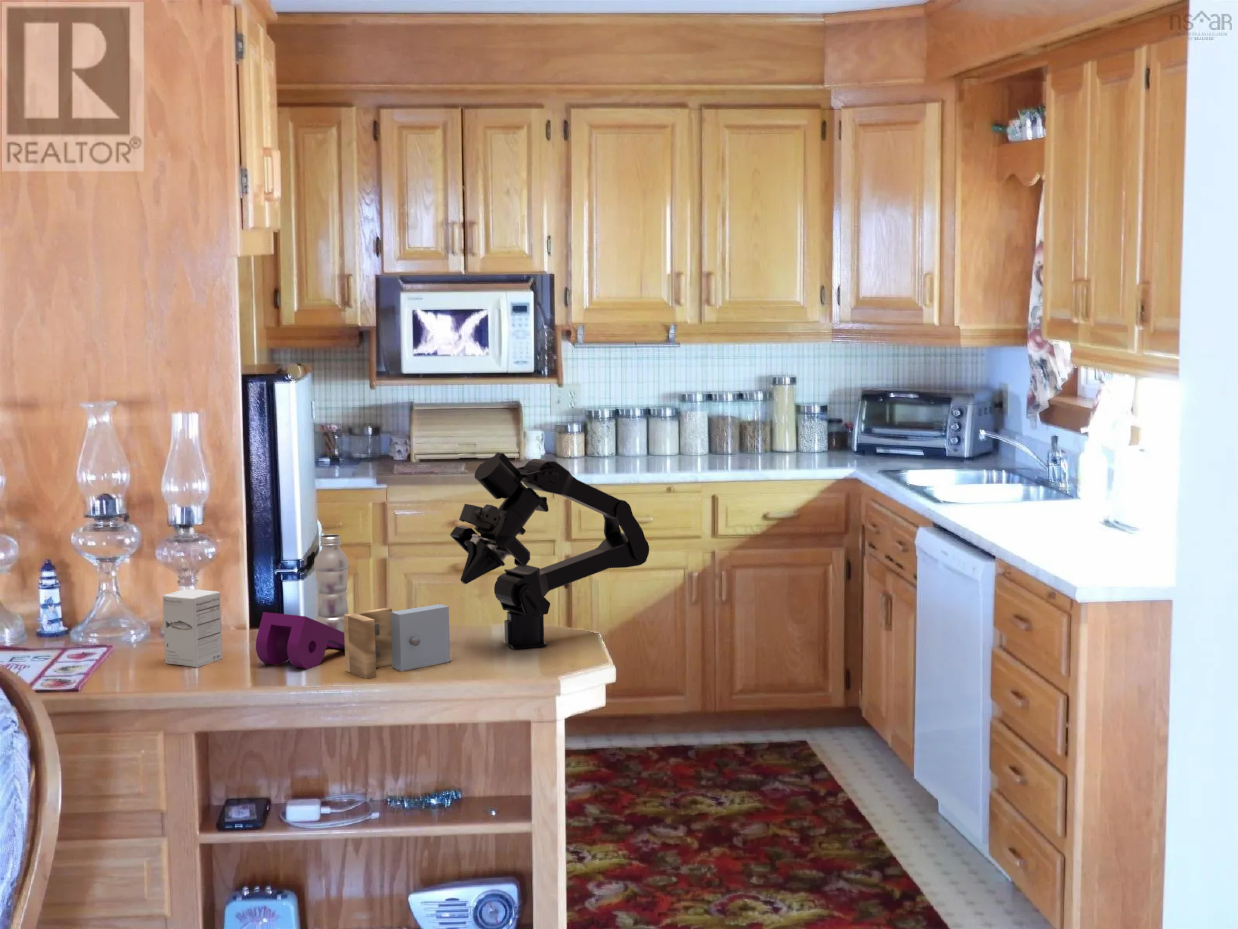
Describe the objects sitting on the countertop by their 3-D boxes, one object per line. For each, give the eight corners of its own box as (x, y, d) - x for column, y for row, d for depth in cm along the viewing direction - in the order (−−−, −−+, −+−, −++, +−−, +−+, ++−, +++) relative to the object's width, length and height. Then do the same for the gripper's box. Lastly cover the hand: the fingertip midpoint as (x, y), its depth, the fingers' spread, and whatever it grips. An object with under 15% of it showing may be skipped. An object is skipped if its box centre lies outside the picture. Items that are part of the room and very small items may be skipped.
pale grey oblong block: (439, 658, 266) (438, 603, 265) (453, 663, 263) (452, 607, 261) (391, 667, 260) (389, 611, 259) (404, 672, 256) (403, 615, 255)
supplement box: (163, 664, 265) (160, 595, 263) (192, 655, 271) (189, 587, 270) (196, 668, 261) (192, 598, 260) (224, 659, 268) (221, 590, 267)
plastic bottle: (309, 639, 282) (305, 536, 280) (340, 634, 287) (336, 532, 284) (327, 645, 277) (323, 539, 275) (358, 639, 282) (354, 535, 280)
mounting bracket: (311, 680, 276) (251, 658, 260) (322, 636, 278) (263, 612, 263) (352, 685, 271) (293, 663, 256) (363, 640, 274) (305, 616, 259)
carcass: (389, 662, 263) (387, 607, 262) (410, 670, 258) (408, 613, 257) (345, 670, 258) (343, 614, 257) (365, 678, 252) (364, 621, 251)
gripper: (457, 482, 274) (407, 548, 269) (515, 492, 260) (463, 561, 254) (494, 520, 280) (445, 585, 275) (552, 531, 266) (502, 600, 260)
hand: (463, 582), depth 266 cm, fingers closed
